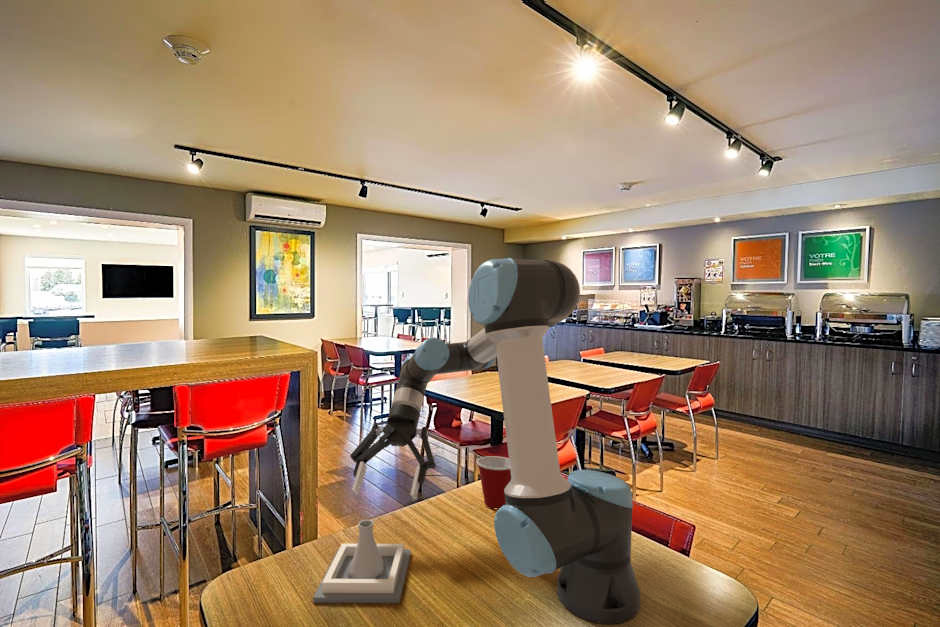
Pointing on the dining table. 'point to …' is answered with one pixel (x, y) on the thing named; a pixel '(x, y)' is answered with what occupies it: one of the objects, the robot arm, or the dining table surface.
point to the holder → (364, 590)
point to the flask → (366, 554)
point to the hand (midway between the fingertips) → (383, 494)
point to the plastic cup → (494, 479)
